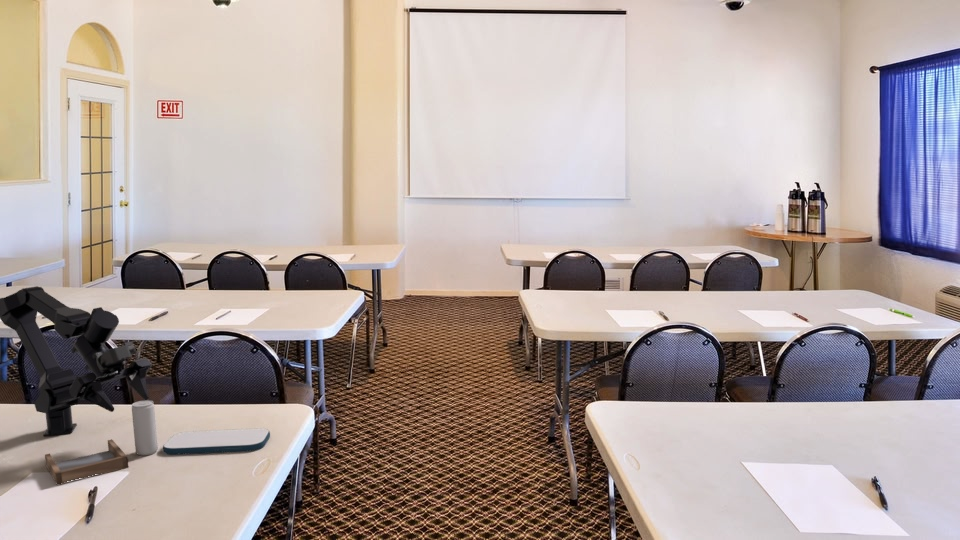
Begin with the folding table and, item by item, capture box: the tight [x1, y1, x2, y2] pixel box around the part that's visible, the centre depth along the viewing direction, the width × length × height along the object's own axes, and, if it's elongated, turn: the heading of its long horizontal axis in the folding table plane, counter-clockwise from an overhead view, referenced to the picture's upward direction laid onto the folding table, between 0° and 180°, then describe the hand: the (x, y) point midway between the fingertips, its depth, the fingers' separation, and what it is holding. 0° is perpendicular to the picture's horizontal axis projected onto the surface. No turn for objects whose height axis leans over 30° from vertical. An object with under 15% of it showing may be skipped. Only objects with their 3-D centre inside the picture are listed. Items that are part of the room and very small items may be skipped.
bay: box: [44, 439, 129, 485], centre depth 163 cm, size 14×14×2 cm
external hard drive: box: [162, 427, 271, 456], centre depth 175 cm, size 24×12×2 cm, turn 94°
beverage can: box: [131, 399, 159, 457], centre depth 170 cm, size 5×5×12 cm
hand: (130, 404), depth 172 cm, fingers open, 9 cm apart
